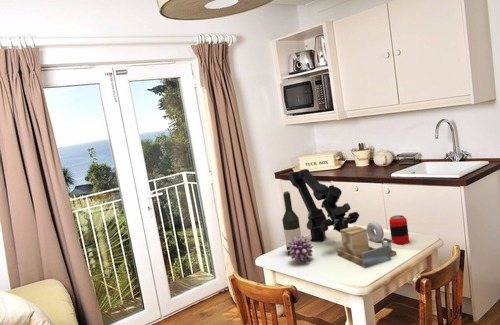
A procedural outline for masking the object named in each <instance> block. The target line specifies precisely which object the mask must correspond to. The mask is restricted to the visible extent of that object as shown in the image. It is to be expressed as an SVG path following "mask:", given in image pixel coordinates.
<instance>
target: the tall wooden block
mask: <svg viewBox="0 0 500 325" xmlns="http://www.w3.org/2000/svg"><path fill="white" fill-rule="evenodd" d="M340 232H341V233H340ZM340 232H339V233H340V236H341V242H342V251H344V252H347V253H349V254H351V255H354V256H356V257H358V258H359V257H362V253H363V252H366V251H369V246H370V245H369V236H368V234H367V228H364V227H361V226H358V225H353V226H350V227H349V226H348V228H346V229H342V230H340Z"/></svg>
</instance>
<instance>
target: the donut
mask: <svg viewBox="0 0 500 325" xmlns="http://www.w3.org/2000/svg"><path fill="white" fill-rule="evenodd" d="M366 229H367V237H368V239H370V240H371V241H372V242H374V243H381V242H382V240H383V238H384V236H385V235H384V233H385V232H384V229H383V227H382V225H381V224H380V223H379V222H378V221H370V222H369V223H368V224H367V226H366Z"/></svg>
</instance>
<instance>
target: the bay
mask: <svg viewBox="0 0 500 325" xmlns="http://www.w3.org/2000/svg"><path fill="white" fill-rule="evenodd" d="M336 253H337V256H338V257H340V258H342V259H345V260H346V261H349V262H351V263H353V264H355V265H357V266H360V267H362V268H364V269H366V268H369V267H373V266H376V265H378V264H379V265H380V264H382V263H384V262H387V261H391V260H392V257H391V255H390V247H389V245H385V246H382V245H381V246H380V247H379V246H378V247H373V246H370V245H369V251H366V252H363V253H362V257H359V258H358V257H356V256H354V255H351V254H349V253H347V252H344V251H343V249H340V248H339V249H336Z"/></svg>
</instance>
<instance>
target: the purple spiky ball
mask: <svg viewBox="0 0 500 325" xmlns="http://www.w3.org/2000/svg"><path fill="white" fill-rule="evenodd" d="M309 242H310V243H309ZM289 244H290V245H289V247H290V248H289V250H287V249H286V252H287V251H288V252H290V255H289V256H291V255H292V256H291V257H290V258H291V260H295V261H297V263H300V261H301V263H303V262H304V261H305V262H308V259H309V258H310V257H313V248H314V245H313V244H312V242H311V239H308V240H307V237H304V235H301V239H300V238H299V236H298V239H297V238H296V237H294V240H292V243H291V242H289ZM309 260H310V259H309Z"/></svg>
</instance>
